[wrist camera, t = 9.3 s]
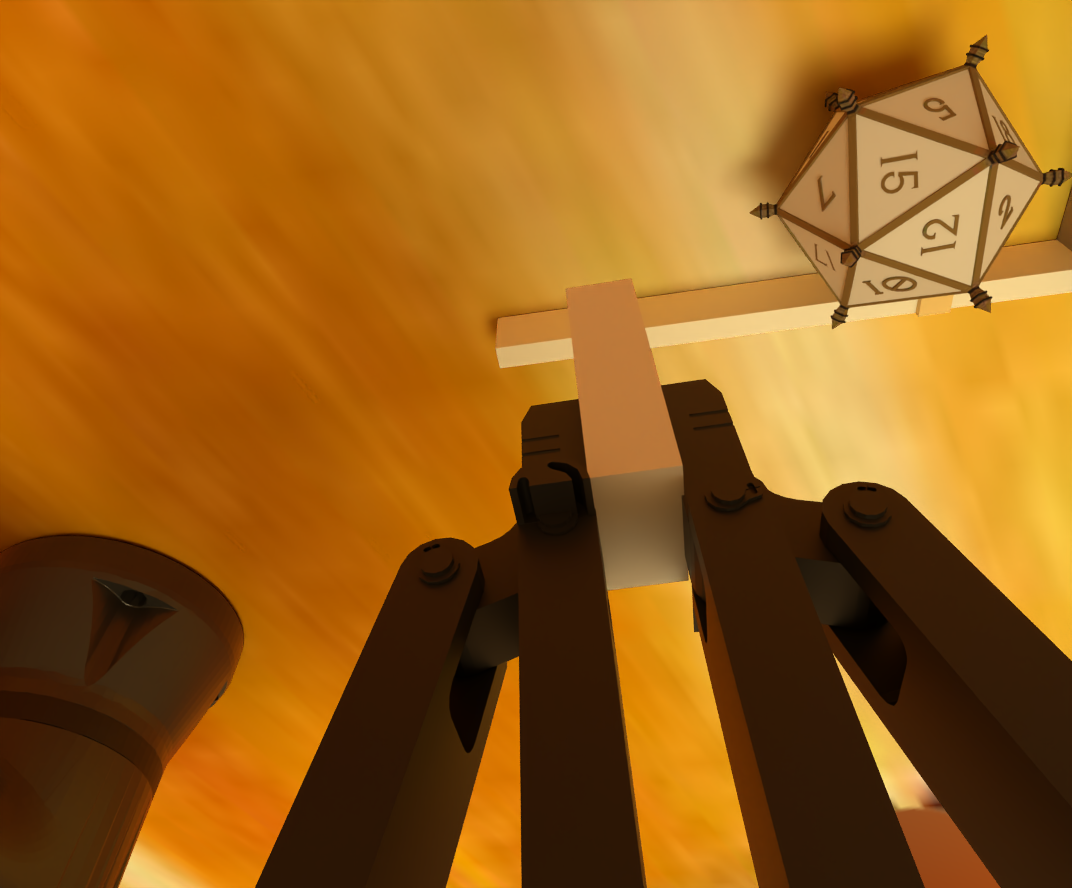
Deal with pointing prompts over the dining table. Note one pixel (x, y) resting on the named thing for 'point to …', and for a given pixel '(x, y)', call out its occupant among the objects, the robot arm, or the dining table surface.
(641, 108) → the dining table surface
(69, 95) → the dining table surface
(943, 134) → the game die
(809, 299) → the tan piece
